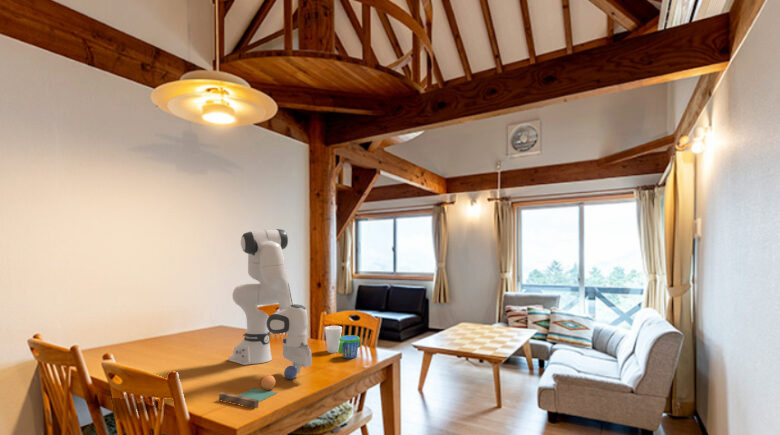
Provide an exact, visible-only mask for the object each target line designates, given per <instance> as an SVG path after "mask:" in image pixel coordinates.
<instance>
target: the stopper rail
mask: <svg viewBox="0 0 780 435" xmlns="http://www.w3.org/2000/svg"><path fill="white" fill-rule="evenodd" d="M219 400H222V401H221V402H223V401H226V402H225V403H228V402H231V403H230V404H232V403H236V404H235V405H237V404H240V405H239V406H241V405H243V406H242V407H246V406H247V408H250V407H252V408H251V409H254V408H256V409H258V408H259V402H258V400H256V399H251V398H246V397H242V396H238V394H237V395H236V394H231V393H226V392H220V393H218V401H219ZM257 407H258V408H257Z"/></svg>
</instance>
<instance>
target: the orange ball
mask: <svg viewBox="0 0 780 435" xmlns="http://www.w3.org/2000/svg"><path fill="white" fill-rule="evenodd" d="M260 382H261V383H260V386H261V387H262V390H267V391H270V390H272V389H273V388H274V387H275V385H276V379H275V377H274V376H273V375H271V374H267V375H265V376H264V377H262V379H261V381H260Z"/></svg>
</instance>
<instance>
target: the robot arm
mask: <svg viewBox="0 0 780 435" xmlns="http://www.w3.org/2000/svg"><path fill="white" fill-rule="evenodd" d="M240 238H241V240H240V246H241V250H242V251H243V252H244V253H245V254H247V255H248V257H247V273H248V276H250V278H252V279H253V280H255V281H257V282H259V283H244V284H240V285H236V287H235V288H234V290H233V292H232V300H233V302H234V303H235V305H237V306H239V307H240V308H241V309H242V311H243V313H244V314H245V318H246V332H245V333H242V337H244V338H243V340H242V341H241V342H239V344H237V345H235V347H234V349H233V354H232V355H231V356H229V357H228V358H227V361H230V362H233V363H237V364H239V365H243V366H248V365H257V364H263V363H267V362H270V361H271V360H272V359H273V358H272V351H271V346H270V345H271V344H270V339H271V334H273V335H280V334H284V333H286V335H287V337H283V338H282V340H281V341H282V344H283V345H282V356H283V359H285V360H287V361H289V362H291V366H294V367H295V368H296V369H297V374H300V373H301V368H302V367H303V368H307V367H310V366H312V364H313V361H312V360H313V359H312V350H311V348H310V347H309V345H308V330H307V329H308V326H309V325H308V322H309V321H308V312H307V311H308V310H307V308H306V306H304V305H301V304H294V303H293V299H292V294H291V289H290V288H291V287H290V283H289V280H288V276H287V270H286V269H287V268H286V261H285V256H284V252H283V250H284V249H286V248H287V247H288V242H289V237H288V234H287V232H286V231H285V229H280V228H277V229H262V230H256V231H247V232H244V233H243V234H242V236H241V237H240ZM275 304H278V307H279V311H276V312H273V313H272V314H270V315H269V314H268V313H266V312H265V311H263V310H260V309H259V308H258V306H261V305H263V306H265V305H266V306H267V305H268V306H270V305H275Z"/></svg>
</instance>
